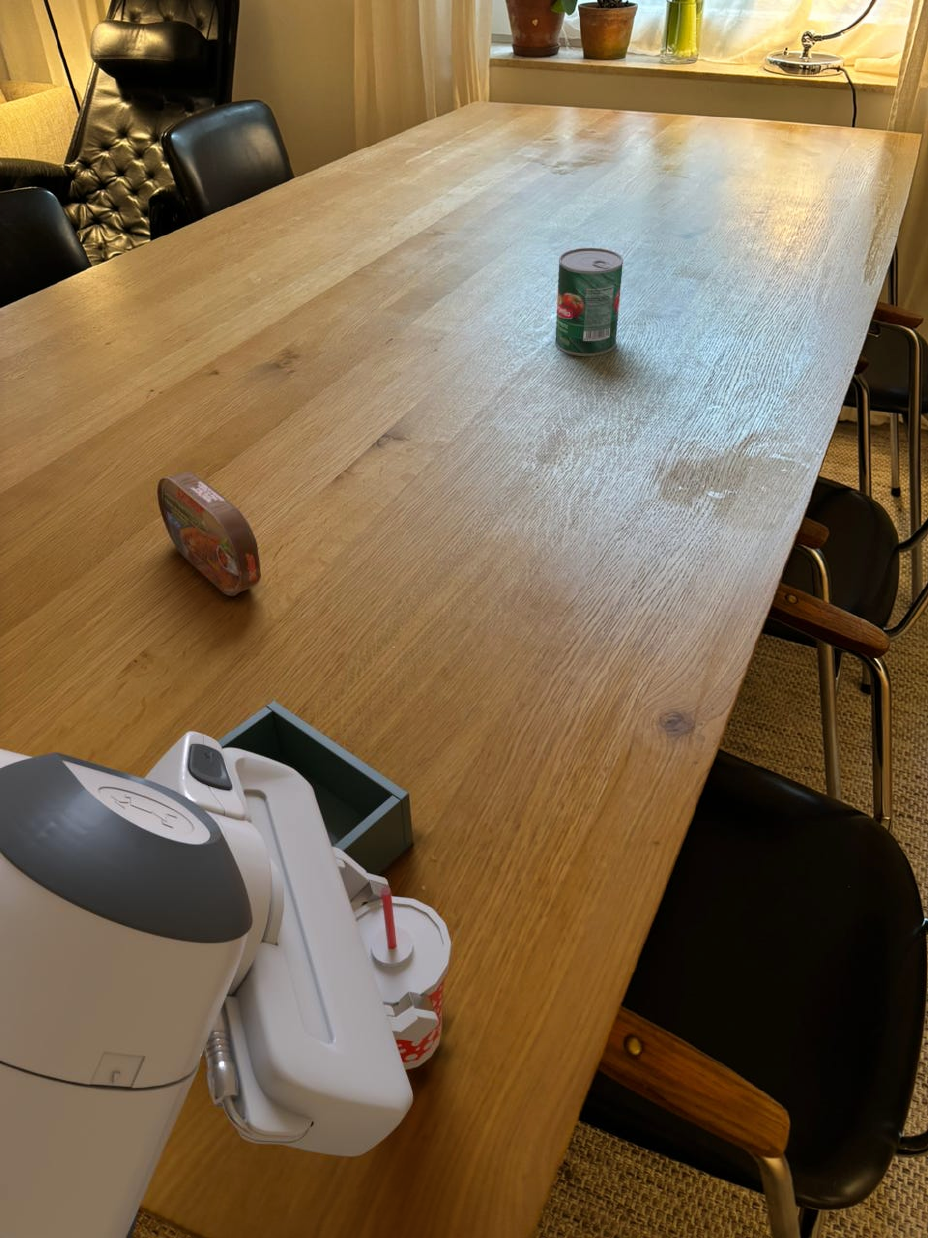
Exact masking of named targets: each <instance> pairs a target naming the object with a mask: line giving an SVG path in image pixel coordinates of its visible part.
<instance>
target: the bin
mask: <svg viewBox="0 0 928 1238" xmlns="http://www.w3.org/2000/svg"><path fill="white" fill-rule="evenodd" d="M216 741H217V742H218V743H219V744H220V745H221V747H222V749H223V748H237V749H241V750H245V751H248V752H251V753H255V754H258V755H260V756H263V757H266V758H269V759H272V760H274V761H277V762H279V763H282V764H284V765H287V766H289V767H291V768H293V769H294V770H295V771H297V772H298V773H299V774H300V775H301V776H302V777H303V778H304V779H305V780H306V781H307V782H308V783H309V784H310V785H311V786H312V788H313V791H314V794H315V797H316V800H317V803H318V806H319V810H320V813H321V816H322V819H323V822H324V825H325V828H326V831H327V834H328V837H329V840H330V843H331V846H332V847H335V848H339V849H341V850H342V851H343V852H344V853H345V854H347V855H348V856H349V857H350V858H351V859H352V860H354V861H355V862H356V863H357V864H358V865H360V866H361V867H362V868H363V869H364V870H365V871H366V873H369V874H373V875H376V876H379V875H380V874H381V873H382V872H384V870H385V869H387V868H388V867H390V865H391V864H392V863H393V862H394V861H395V860H396V859H398V857H400V856H401V855H402V854H403V853H404V852H405V851H406V850H407V849H408V848H409V847H411V846H412V845H413V844H414V835H413V824H412V813H411V803H410V802H411V801H410V793H409V792H407V791H406V790H405V789H403V788H402V787H401V786H399V785H397V784H396V783H395V782H393V781H392V780H390V779H389V778H387V777H386V776H384V775H383V774H382V773H380V772H379V771H377V770H375V769H374V768H373V767H371V766H370V765H369V764H367V763H365V762H364V761H362V760H361V759H360V758H359V757H357V756H355V755H354V754H353V753H351V752H349V750H347V749H345V748H344V747H342V746H340V744H338V743H337V742H335V741H333V740H332V739H330V738H329V737H328V736H326V735H325V734H323V733H322V732H320V731H319V730H317V729H316V728H315V727H313V726H312V725H310V724H309V723H307V722H306V721H304V720H303V719H301V718H300V717H299V716H297V715H296V714H295V713H293V712H291V711H290V710H288V709H287V708H286V707H284V706H282V705H281V704H279V702H277V701H275V700H272V701H271V702H270V703H268V704H267V705H265V706H263V707H262V708H261V709H260V710H258V711H257V712H256V713H254V714H252V715H251V716H250V717H248V718H247V719H246V720H244V721H243V722H241V723H240V724H238V725H237V726H236V727H234V728H233V729H232V730H230V731H228V733H226V734H225V735H224V736H222V737H220V738H219V739H218V740H216Z"/></svg>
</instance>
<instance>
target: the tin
mask: <svg viewBox="0 0 928 1238" xmlns="http://www.w3.org/2000/svg"><path fill="white" fill-rule="evenodd" d="M156 490H157V491H156V494H157V504H158V507H159V511H160V514H161V518H162V521H163V523H164V526H165V528H166V530H167V533H168V536H169V537H170V539H171V541H172V543H173V544H174V546H175V548H176V549H177V550H178V553H180V554H181V555H182V557H183V558H184V559H186V560H187V561H188V562H189V563H190V564H191V565H192V566H193V567H194V568H195V569H196V570H197V571H199V572H200V573H201V574H202V575H203V576H204V578H206V579H207V580H208V581H209V582H211V584H213V585H214V586H215V588H217V589H218V590H219V591H220V592H221V593H223V594H224V595H226V596H229V597H234V596H236V595H237V594H239V593H241V592H243V591H246V590H248V589H251V588H253V587H255V586H256V585H257V584H258V583H259V582H260V580H261V577H262V573H261V561H260V556H259V546H258V543H257V542H258V541H257V539H256V537H255V534H254V531H253V530H252V528H251V525H250V523H249V522H248V520H247V519H246V517H245V516H244V514H243V513H242V511H240V510H239V509H238V507H237V506H235V505H234V504H233V503H232V502H231V501H229V500H228V499H227V498H225V497H224V496H223V495H222V494H221V493H219V491H217V490H216V489H214V488H213V487H212V486H211V485H209V484H208V483H207V482H206V481H205V480H203V479H202V478H200V476H198V475H197V474H195V473H193V472H190V471H185V472H180V473H177V474H173V475H171V476H166V477H165V476H164V477H162V478H160V480H159V481H158V483H157V489H156Z"/></svg>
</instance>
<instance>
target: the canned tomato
mask: <svg viewBox="0 0 928 1238" xmlns="http://www.w3.org/2000/svg"><path fill="white" fill-rule="evenodd" d="M623 265H624V258H623V256H622V255H621V254H620V253H618V252H616V251H613V250H611V249H607V248H600V247H579V248H574V249H570V250H567V251H565V252H563V253H562V254H561V255H560V256H559V257H558V276H557V277H558V278H557V298H556V301H557V302H556V316H555V319H556V320H555V322H556V323H555V338H554V344H555V346H556V348H557V349H558V350H559V351H561V352H563V353H565V354H567V355H572V356H576V357H597V356H602V355H606V354H609V353H610V352H611V351H613V350H614V349H615V348H616V345H617V332H618V322H619V321H618V320H619V309H620V302H621V301H620V299H621V298H620V297H621V289H622V286H621V285H622V276H623Z"/></svg>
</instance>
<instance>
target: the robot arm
mask: <svg viewBox="0 0 928 1238" xmlns="http://www.w3.org/2000/svg"><path fill="white" fill-rule="evenodd" d="M217 741H218V740H216V739H215V738H213V737H211V736H208V735H206V734H204V733H201V732H198V731H195V730H194V731H192V730H188V731H187V732H185V733H184V734H183V735H182V736H181V737H180V738H179V739H178V740H177V741H176V742H175V743H174V744H173V745H172V746H171V747H170V749H168V750H167V752H165V754H164V755H163V756H162V757H161V758H160V759H159V760H158V761H157V762H156V764H155V765H154V766H153V767H152V768H151V769H150V770H149V772H148V773H147V774H146V775H145V776H144V777H140V776H137V775H133V774H131V773H128V772H124V771H120V770H117V769H114V768H111V767H108V766H104V765H100V764H97V763H94V762H91V761H88V760H84V759H81V758H78V757H74V756H72V755H69V754H64V753H61V752H58V751H55V752H49V753H45V754H42V755H38V756H31V755H26V754H23V753H19V752H15V751H10V750H7V749H3V748H0V1238H133V1234H134V1233H135V1232H134V1231H135V1228H136V1225H137V1221H138V1215H139V1209H140V1207H141V1204H142V1203H143V1200H144V1197H145V1195H146V1193H147V1190H148V1188H149V1186H150V1184H151V1181H152V1179H153V1176H154V1174H155V1171H156V1169H157V1167H158V1164H159V1162H160V1160H161V1157H162V1155H163V1152H164V1150H165V1148H166V1146H167V1143H168V1141H169V1139H170V1136H171V1134H172V1132H173V1129H174V1127H175V1125H176V1122H177V1120H178V1117H179V1115H180V1113H181V1110H182V1108H183V1106H184V1103H185V1101H186V1099H187V1096H188V1094H189V1092H190V1089H191V1087H192V1085H193V1082H194V1080H195V1078H196V1075H197V1073H198V1071H199V1068H200V1065H201V1059H202V1058H201V1057H202V1055H203V1053H204V1057H205V1064H206V1073H205V1075H206V1077H205V1078H206V1084H207V1089H208V1094H209V1096H210V1098H211V1101H212V1103H213V1105H214V1106H215V1107H218V1108H222V1109H223V1111H224V1113H225V1115H226V1117H227V1119H228V1120H229V1122H230V1123H231V1124H232V1126H233V1127H234V1128H235V1129H236V1130H237V1132H238V1134H239V1136H240V1137H241V1138H242V1139H243V1140H245V1141H247V1142H248V1143H249V1142H250V1143H253V1144H257V1145H258V1144H260V1145H261V1144H262V1145H282V1146H286V1147H289V1148H293V1149H298V1150H303V1151H308V1152H312V1153H319V1154H324V1155H330V1156H337V1157H338V1156H339V1157H351V1158H352V1157H359V1156H361V1155H364V1154H366V1153H367V1152H370V1151H371V1150H372V1149H373V1148H375V1147H376V1146H377V1145H378V1144H380V1143H381V1142H382V1141H384V1140H385V1139H386V1138H387V1137H388V1136H389V1135H390V1134H392V1132H393V1131H394V1130H395V1129H396V1128H398V1126H399V1125H400V1124H401V1123H402V1121H403V1120H404V1118H405V1117H406V1115H407V1113H408V1112H409V1110H410V1109H411V1107H412V1105H413V1102H414V1095H413V1094H414V1093H413V1089H412V1086H411V1083H410V1080H409V1077H408V1074H407V1070H405V1068H404V1065H403V1062H402V1059H401V1056H400V1053H399V1050H398V1047H397V1044H396V1040H397V1039H400V1040H408V1041H419V1040H421V1039H423V1038H425V1037H426V1036H427V1035H428V1034H429V1033H430V1032H432V1031H433V1030H434V1029H435V1028H436V1027H437V1026H438V1025H439V1020H438V1017H437V1015H436V1013H435V1011H434V1008H433V1005H432V1003H431V1000H430V997H429V996H428V995H426V994H424V995H423V996H421V995H420V994H418V993H415V992H409V991H408V992H407V993H406V994H405V995H404V996H403V997H402V998H401V999H400V1001H399V1004H398V1005H394V1006H392V1007H391V1006H389V1005H384V1004H383V1001H382V998H381V995H380V992H379V989H378V986H377V983H376V980H375V977H374V974H373V971H372V968H371V965H370V962H369V959H368V956H367V953H366V949H365V946H364V943H363V940H362V937H361V934H360V931H359V928H358V925H357V922H356V919H355V916H354V913H353V912H354V911H356V910H358V909H359V908H361V907H362V906H364V905H365V904H367V903H368V902H373V901H376V900H379V899H382V894H381V890H382V888H384V887H389V888H390V884H389V881H388V879H386V877H383V876H379V875H378V876H376V875H373V874H369V873H366V871H365V870H364V869H363V868H362V867H361V866H360V865H358V864H357V863H356V862H355V861H354V860H352V859H351V858H350V857H349V856H348V855H347V854H345V853H344V852H343V851H342V850H341V849H339V848H335V847H332V846H331V843H330V840H329V837H328V834H327V831H326V828H325V825H324V822H323V819H322V816H321V813H320V810H319V806H318V803H317V800H316V797H315V794H314V791H313V788H312V786H311V785H310V784H309V783H308V782H307V781H306V780H305V779H304V778H303V777H302V776H301V775H300V774H299V773H298V772H297V771H295V770H294V769H293V768H291V767H289V766H287V765H284V764H282V763H279V762H277V761H274V760H272V759H269V758H266V757H263V756H260V755H258V754H255V753H251V752H248V751H245V750H241V749H237V748H223V749H222V747H221V745H220V744H219V743H218V742H217ZM390 889H391V888H390ZM391 896H393V894H392V892H391Z"/></svg>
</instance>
